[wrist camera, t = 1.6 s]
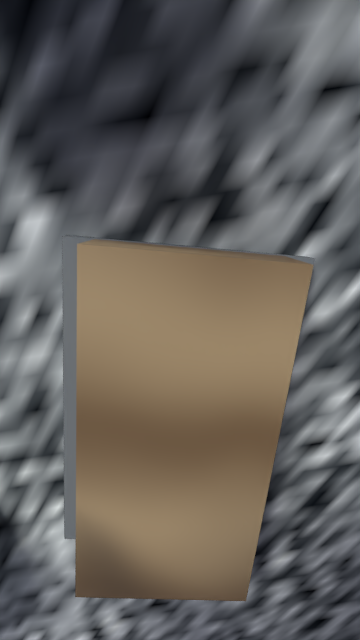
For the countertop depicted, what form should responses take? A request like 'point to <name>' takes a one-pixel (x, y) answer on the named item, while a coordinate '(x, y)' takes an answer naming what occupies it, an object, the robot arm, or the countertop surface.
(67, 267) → the mat
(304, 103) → the countertop surface
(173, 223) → the countertop surface
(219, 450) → the tan wooden plank
